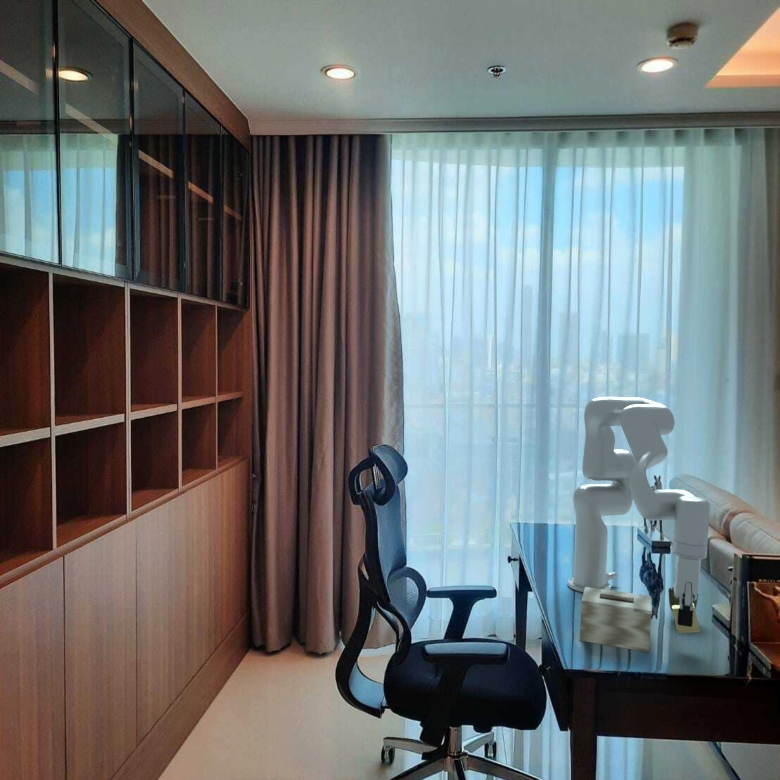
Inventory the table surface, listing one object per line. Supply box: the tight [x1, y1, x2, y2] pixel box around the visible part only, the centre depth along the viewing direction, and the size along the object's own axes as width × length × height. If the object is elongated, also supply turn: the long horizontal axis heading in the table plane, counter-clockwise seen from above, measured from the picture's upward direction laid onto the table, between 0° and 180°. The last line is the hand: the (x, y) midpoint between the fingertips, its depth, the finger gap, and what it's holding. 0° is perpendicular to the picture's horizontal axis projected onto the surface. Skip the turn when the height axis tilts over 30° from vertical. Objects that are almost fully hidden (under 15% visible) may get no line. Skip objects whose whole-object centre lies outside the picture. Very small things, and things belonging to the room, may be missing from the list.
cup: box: [668, 586, 699, 613], centre depth 182 cm, size 8×7×8 cm
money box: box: [579, 587, 652, 653], centre depth 168 cm, size 16×11×10 cm
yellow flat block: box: [671, 604, 701, 634], centre depth 163 cm, size 5×2×6 cm, turn 69°
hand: (684, 622), depth 163 cm, fingers closed on yellow flat block, 2 cm apart
